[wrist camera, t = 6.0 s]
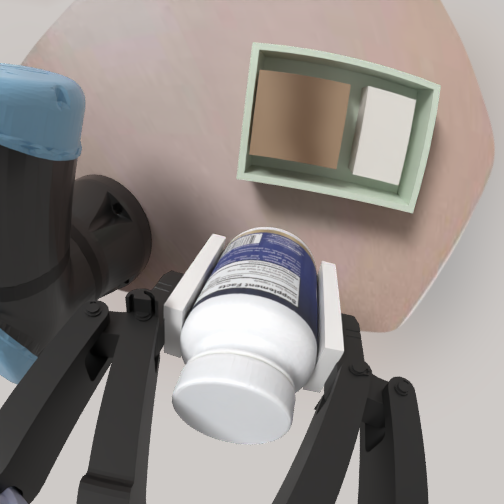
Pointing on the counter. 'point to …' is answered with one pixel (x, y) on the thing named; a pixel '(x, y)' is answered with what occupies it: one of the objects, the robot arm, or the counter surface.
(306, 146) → the walnut block
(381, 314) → the counter surface
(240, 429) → the pill bottle
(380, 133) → the white box
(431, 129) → the box
